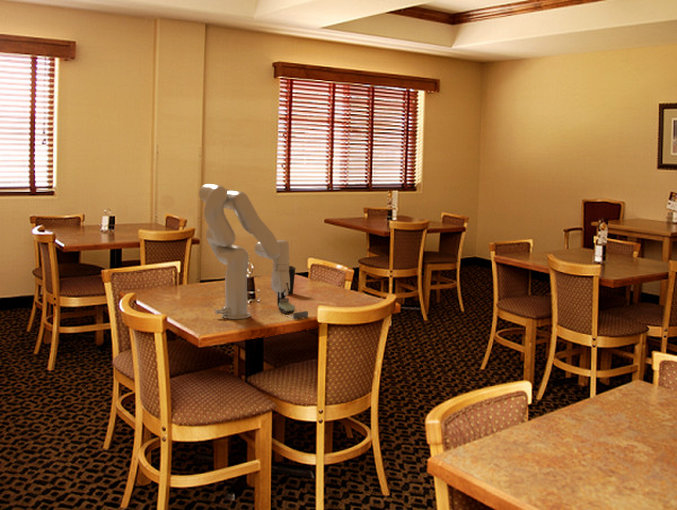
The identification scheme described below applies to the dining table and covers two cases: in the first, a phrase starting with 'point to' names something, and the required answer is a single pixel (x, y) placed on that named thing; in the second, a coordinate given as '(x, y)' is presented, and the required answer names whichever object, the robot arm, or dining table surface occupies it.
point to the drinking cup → (291, 278)
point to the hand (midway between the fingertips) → (281, 305)
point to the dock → (298, 315)
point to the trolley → (286, 306)
